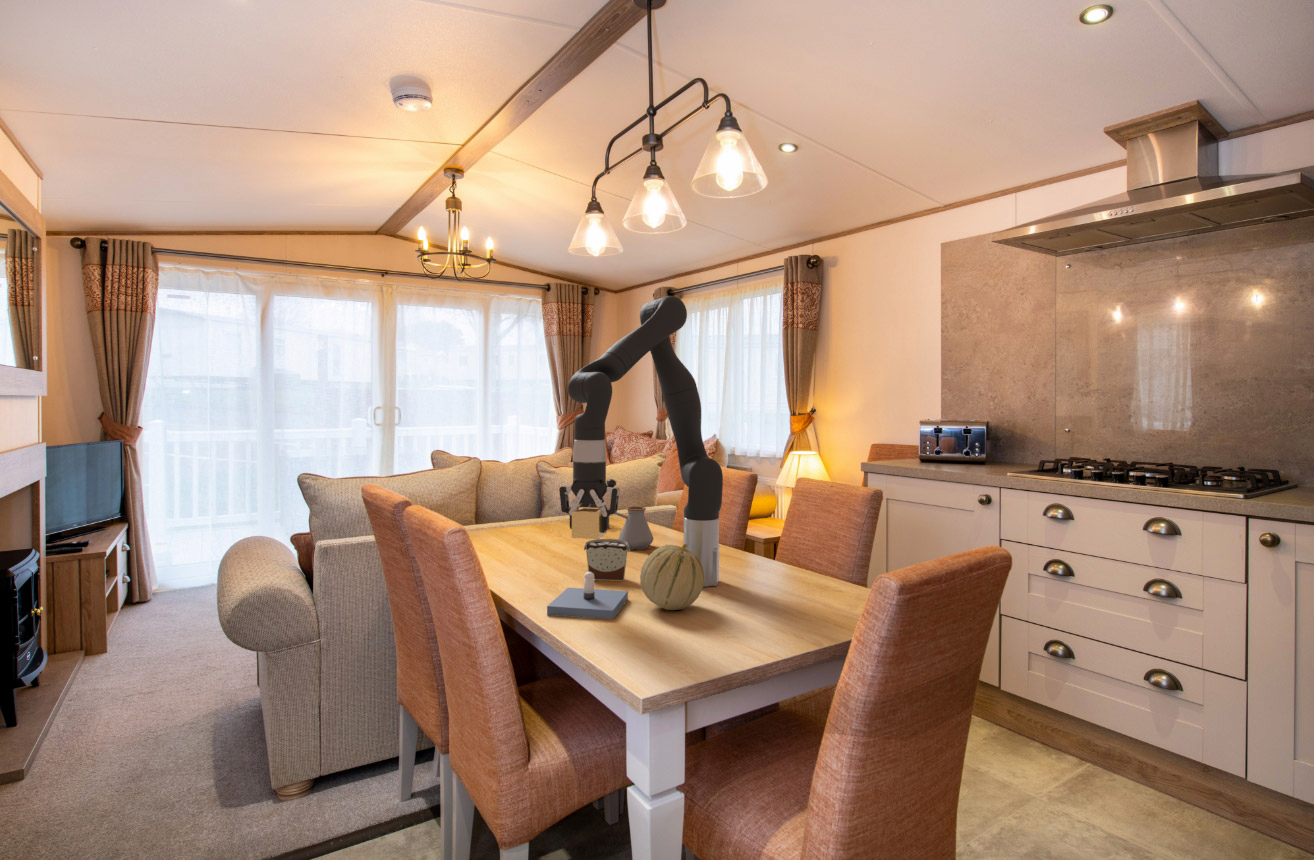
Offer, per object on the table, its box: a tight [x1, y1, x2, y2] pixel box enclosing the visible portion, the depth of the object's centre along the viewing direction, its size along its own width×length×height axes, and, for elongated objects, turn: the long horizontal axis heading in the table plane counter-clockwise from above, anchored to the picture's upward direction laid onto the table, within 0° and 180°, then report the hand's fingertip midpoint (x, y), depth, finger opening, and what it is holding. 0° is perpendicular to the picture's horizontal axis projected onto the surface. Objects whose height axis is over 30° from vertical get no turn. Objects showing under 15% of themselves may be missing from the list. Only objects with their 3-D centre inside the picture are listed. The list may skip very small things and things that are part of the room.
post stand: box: [546, 571, 629, 620], centre depth 154 cm, size 15×15×8 cm
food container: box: [583, 538, 631, 582], centre depth 180 cm, size 12×6×10 cm, turn 84°
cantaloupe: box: [639, 543, 704, 611], centre depth 154 cm, size 15×15×15 cm
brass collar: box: [571, 507, 607, 540], centre depth 153 cm, size 6×6×6 cm
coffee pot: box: [588, 504, 654, 550], centre depth 216 cm, size 21×12×15 cm, turn 102°
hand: (589, 531), depth 154 cm, fingers closed on brass collar, 6 cm apart
